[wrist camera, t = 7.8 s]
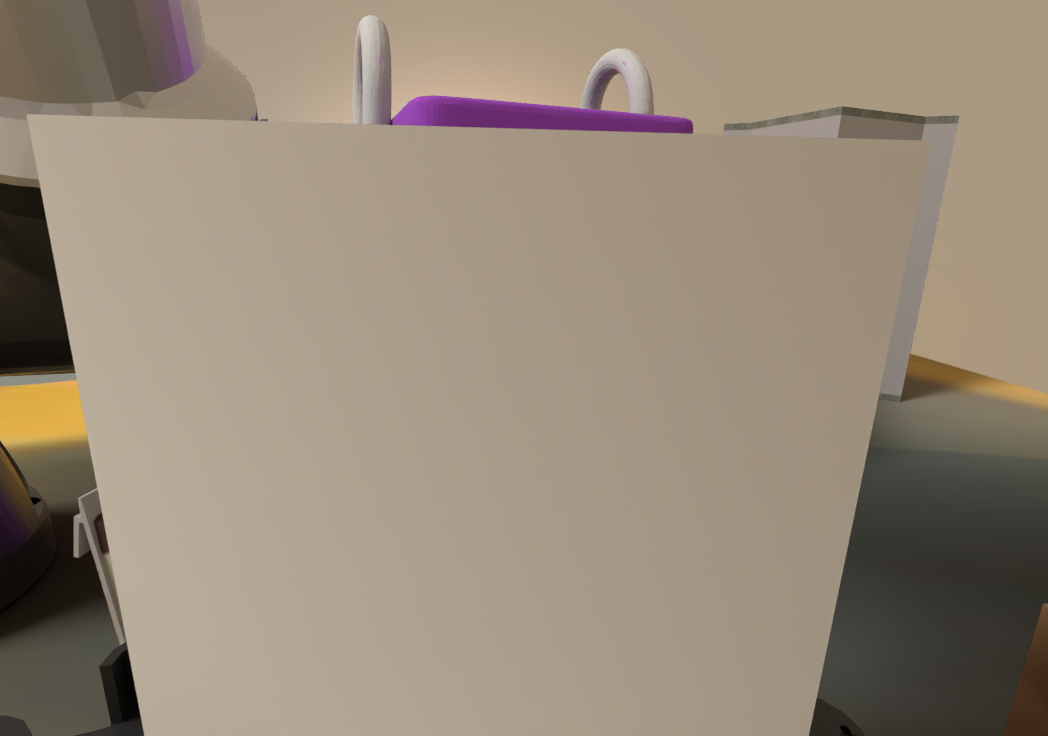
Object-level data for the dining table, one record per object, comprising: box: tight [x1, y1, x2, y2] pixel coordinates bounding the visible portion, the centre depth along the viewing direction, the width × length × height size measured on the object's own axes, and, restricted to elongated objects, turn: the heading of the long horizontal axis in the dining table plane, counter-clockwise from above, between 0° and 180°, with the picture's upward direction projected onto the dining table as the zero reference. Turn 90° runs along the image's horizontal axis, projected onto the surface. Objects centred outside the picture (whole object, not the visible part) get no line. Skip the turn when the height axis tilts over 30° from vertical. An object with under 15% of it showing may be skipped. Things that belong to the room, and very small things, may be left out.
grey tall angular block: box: [723, 107, 959, 402], centre depth 59 cm, size 21×10×28 cm, turn 64°
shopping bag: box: [353, 15, 693, 134], centre depth 43 cm, size 28×22×30 cm
